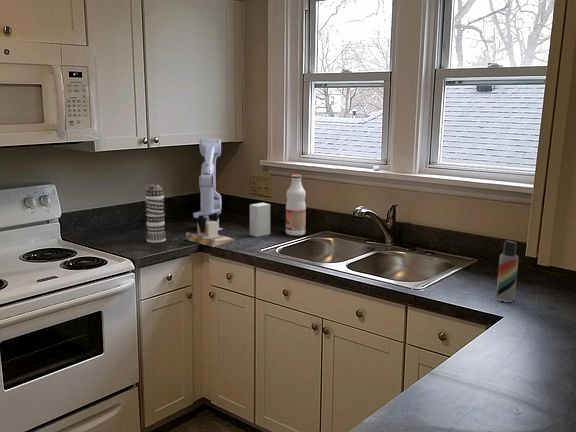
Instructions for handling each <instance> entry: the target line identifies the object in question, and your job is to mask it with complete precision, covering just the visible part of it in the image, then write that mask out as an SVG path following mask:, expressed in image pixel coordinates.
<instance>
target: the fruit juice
mask: <svg viewBox="0 0 576 432" xmlns="http://www.w3.org/2000/svg"><path fill="white" fill-rule="evenodd" d="M290 179H291V182H290V185H289V188H288V189H287V190H286V199H287V200H286V204H285V233H286V235H289V236H303V235H305V234H306V225H307V224H306V223H307V221H306V216H307V213H306V212H307V211H306V210H307V207H306V206H307V205H306V201H305V200H306V196H307V195H306V194H307V193H306V190H305V188H304V187H303V183H302V175H301V174H292V175H291V177H290Z"/></svg>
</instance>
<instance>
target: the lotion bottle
mask: <svg viewBox="0 0 576 432" xmlns="http://www.w3.org/2000/svg"><path fill="white" fill-rule="evenodd" d="M517 245H518V244H517V242H515V241H513V240H505V241H504V242H503V251H502V253H500V255H499V260H498V261H499V262H498V273H497V282H496V294H495V295H496V296H495V298H496V297H497V298H498V299H501V300H506V301H512V300H514V301H515V298H516V289H517V279H518V277H517V276H518V266H519V255H518V254H517Z"/></svg>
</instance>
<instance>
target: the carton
mask: <svg viewBox="0 0 576 432" xmlns="http://www.w3.org/2000/svg"><path fill="white" fill-rule="evenodd" d="M196 222H197V221H196ZM197 235H200V236H204V237H208V238H216V237H218V235H219V230H218V222H216V221H212V220H208V219H206V223H205V232H204V233H203V232H201V231H200V228H199V225H198V222H197Z"/></svg>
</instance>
